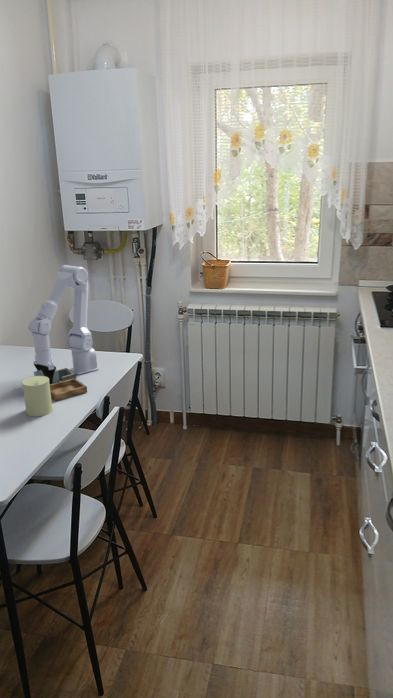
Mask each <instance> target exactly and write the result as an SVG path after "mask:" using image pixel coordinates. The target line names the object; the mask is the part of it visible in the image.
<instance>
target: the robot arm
mask: <svg viewBox="0 0 393 698" xmlns="http://www.w3.org/2000/svg"><path fill="white" fill-rule="evenodd" d="M88 274H89V272H88V271H87V270H86V268H84V267H83V266H74V265H68V264H63V265H61V267H60V268H59V270H58V272H57V274H56V275H57V280H56V282H55V284H54V287H53V289H52V291H51V294H50V296H49V298H48V300H45V301H43V303H41V307H40V309H39V311H38V312H37V314H36V315H35V317H34V318H33V319H32V320H31V321H30V322H29V324H28V325H29V326H28V330H29V332H30V333H31V336H32V339H33V345H34V351H35V352H34V353H35V355H34V360H33V366H34V367H35V369H36V370H37V371H39V370H41V371H42V373H43V375H44V376H46V377H48V378H49V384H52V382H53V375H54V372H55V370H56V369H57V366H55V364H54V362H53V357H52V352H51V343H50V335H49V334H50V332H51V331H52V324H53V319H54V317H55V315H56V314H57V312H58V309H59V307H58V303H59V301H60V300H61V298H62V297H63V294H65V291H66V290H67V288H70V287H72V288H73V290H74V293H73V294H74V295H73V296H74V297H73V317H72V318H73V322H72V328H70V329H69V330H68V336H67V337H66V345H67V347H69V350H70V351H71V358H72V367H71V368H69V370H70V371H72V372H73V373H75V374H76V376H77V375H78V376H79V375H83V374H87V373H91V372H94V371H97V370H99V368H98V362H97V352H96V350H95V349H94V348H93V344H94V343H93V338H92V332H91V331H90V330H89V328H88V310H89V309H88V306H89V305H88V304H89V286H90V285H89V281H88V276H89V275H88Z"/></svg>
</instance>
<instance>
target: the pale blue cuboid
mask: <svg viewBox="0 0 393 698" xmlns="http://www.w3.org/2000/svg"><path fill="white" fill-rule="evenodd" d="M58 370H59V369H57V368H56V370H55V372H54V375H53V382H52V384H55V383H58V382H60V379H59V373H58ZM33 376H44V375H43V373H42V371H41V370H39V371H36V370H35V371H33ZM50 385H51V384H50Z"/></svg>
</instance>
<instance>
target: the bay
mask: <svg viewBox="0 0 393 698" xmlns="http://www.w3.org/2000/svg"><path fill="white" fill-rule="evenodd" d="M57 370H58V373H59V380H61V382H62V381H66V380H70V379H73V378H75V379H77V374H76V373H74V372H73V371H71V370H70V368H68V367H66V368H61V369H57Z"/></svg>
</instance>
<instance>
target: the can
mask: <svg viewBox="0 0 393 698" xmlns="http://www.w3.org/2000/svg"><path fill="white" fill-rule="evenodd" d="M21 384H22V390H23V397H24V403H25V404H24V405H25V413H26V415H28V416H30V417H43V416H46V415H48V414H50V413H51V412H53V410H54V407H53V402H52V398H51V393H50V384H49V378H48V377H46V376H34V375H33V376H30V377H27V378H25V379H23V380H22V382H21Z"/></svg>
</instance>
